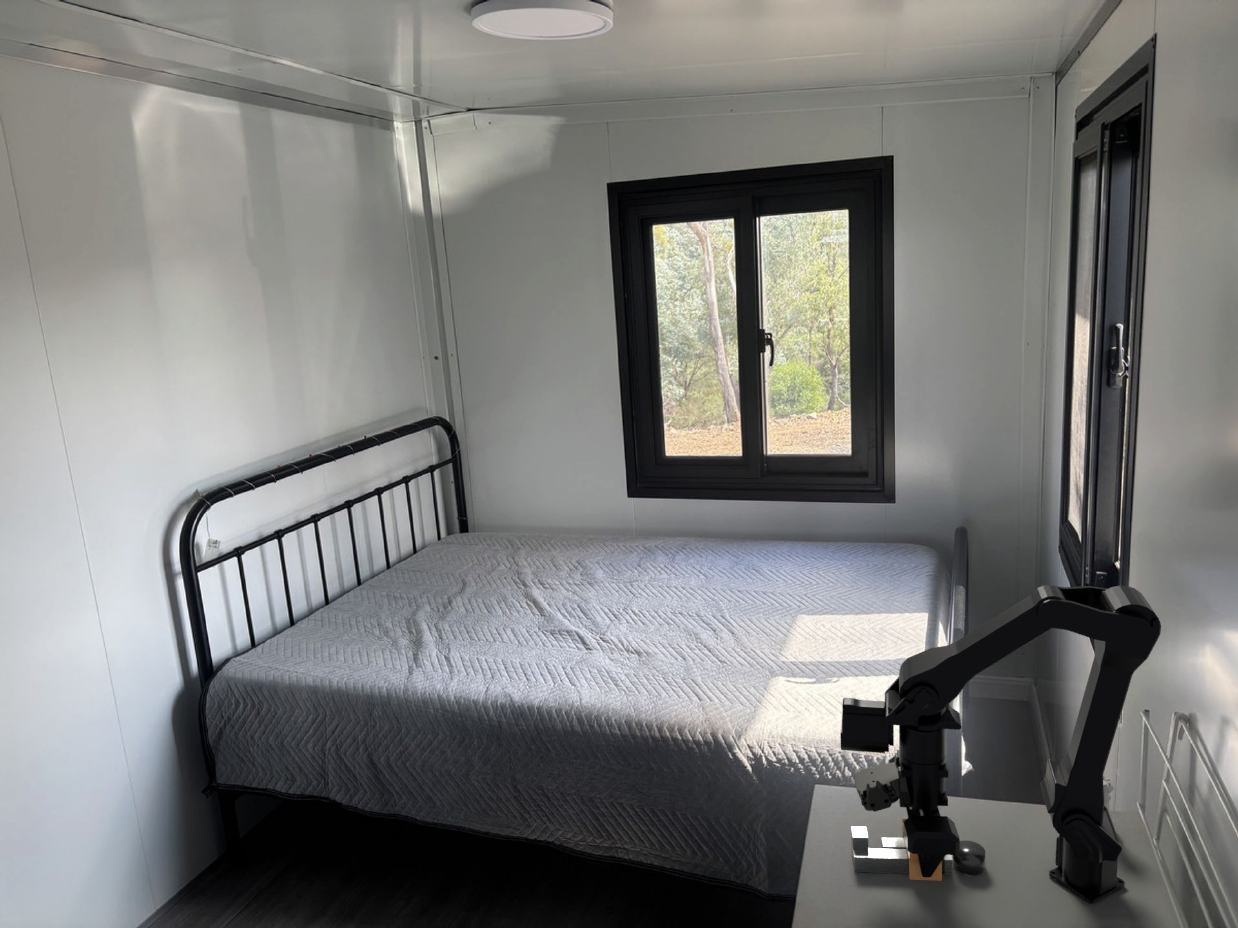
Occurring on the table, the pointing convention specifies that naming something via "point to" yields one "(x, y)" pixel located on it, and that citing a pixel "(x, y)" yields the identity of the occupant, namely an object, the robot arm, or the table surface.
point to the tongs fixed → (964, 862)
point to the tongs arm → (883, 856)
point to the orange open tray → (915, 866)
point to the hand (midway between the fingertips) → (921, 857)
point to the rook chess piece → (1108, 789)
